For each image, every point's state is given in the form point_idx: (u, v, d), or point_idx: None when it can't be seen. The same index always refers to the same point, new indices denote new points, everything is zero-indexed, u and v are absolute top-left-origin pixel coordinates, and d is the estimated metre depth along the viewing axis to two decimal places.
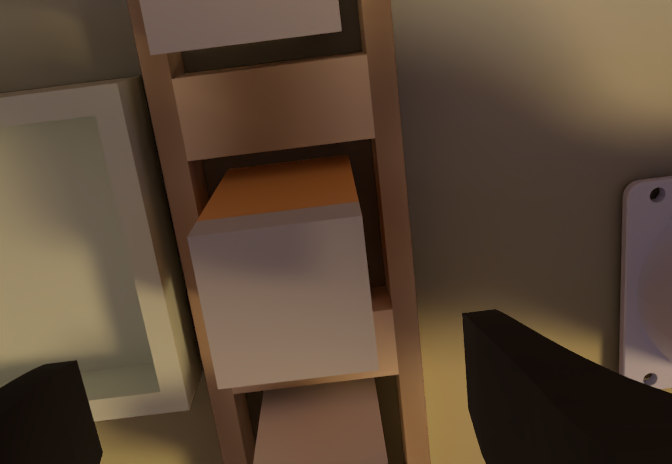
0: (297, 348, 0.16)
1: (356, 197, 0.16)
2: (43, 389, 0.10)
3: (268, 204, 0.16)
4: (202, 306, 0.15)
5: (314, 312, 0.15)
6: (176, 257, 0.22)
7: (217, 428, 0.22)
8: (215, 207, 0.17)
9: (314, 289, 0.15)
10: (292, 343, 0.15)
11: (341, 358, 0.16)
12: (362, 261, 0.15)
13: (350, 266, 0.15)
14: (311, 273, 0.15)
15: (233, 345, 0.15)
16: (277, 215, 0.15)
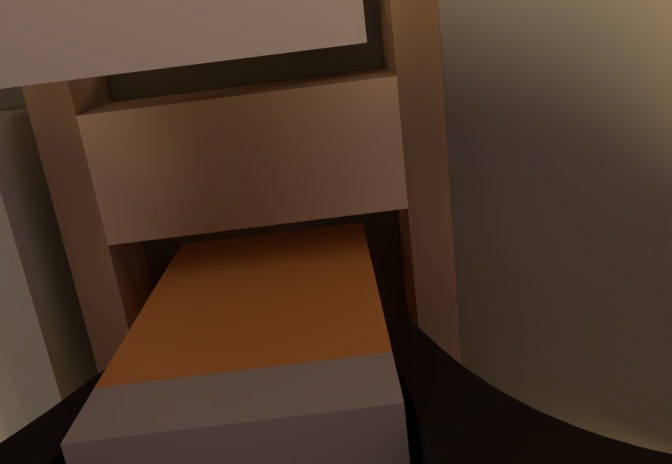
0: None
1: (386, 338, 0.09)
2: None
3: (230, 346, 0.09)
4: None
5: None
6: None
7: None
8: (138, 346, 0.10)
9: None
10: None
11: None
12: None
13: None
14: None
15: None
16: (243, 382, 0.08)
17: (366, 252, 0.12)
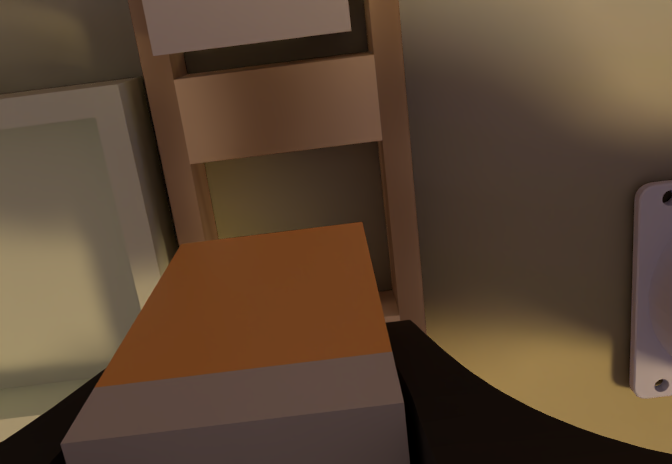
0: None
1: (386, 338, 0.09)
2: None
3: (230, 346, 0.09)
4: None
5: None
6: None
7: None
8: (138, 345, 0.10)
9: None
10: None
11: None
12: None
13: None
14: None
15: None
16: (243, 382, 0.08)
17: (366, 252, 0.12)
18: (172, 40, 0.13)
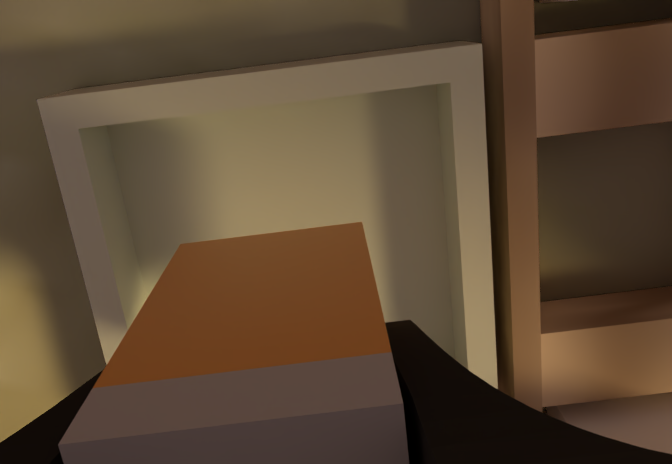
0: None
1: (386, 338, 0.09)
2: None
3: (229, 346, 0.09)
4: None
5: None
6: None
7: None
8: (136, 346, 0.10)
9: None
10: None
11: None
12: None
13: None
14: None
15: None
16: (241, 383, 0.08)
17: (365, 252, 0.12)
18: None
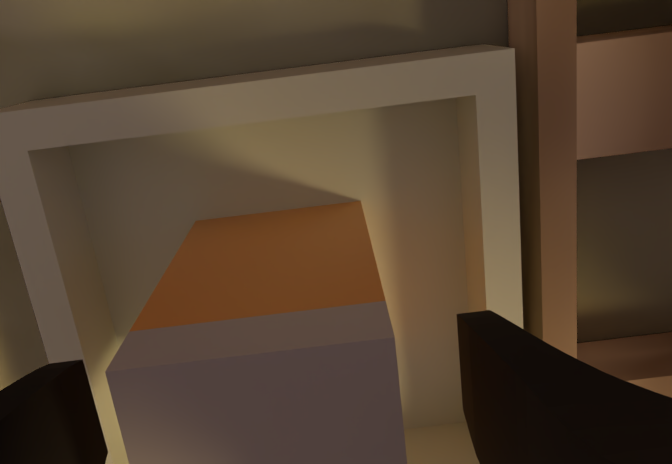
0: None
1: (381, 290, 0.10)
2: (49, 388, 0.10)
3: (244, 299, 0.11)
4: None
5: None
6: None
7: None
8: (164, 300, 0.11)
9: (315, 450, 0.09)
10: None
11: None
12: (394, 406, 0.09)
13: (374, 414, 0.09)
14: (310, 425, 0.09)
15: None
16: (257, 325, 0.10)
17: (364, 225, 0.14)
18: None
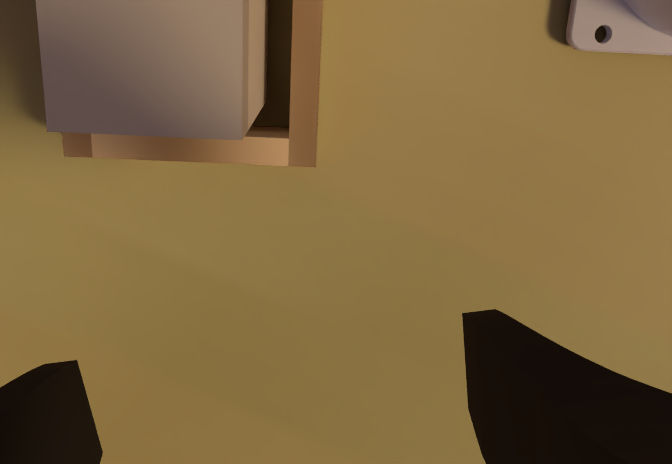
0: None
1: None
2: (43, 389, 0.10)
3: None
4: None
5: None
6: None
7: None
8: None
9: None
10: None
11: None
12: None
13: None
14: None
15: None
16: None
17: None
18: None
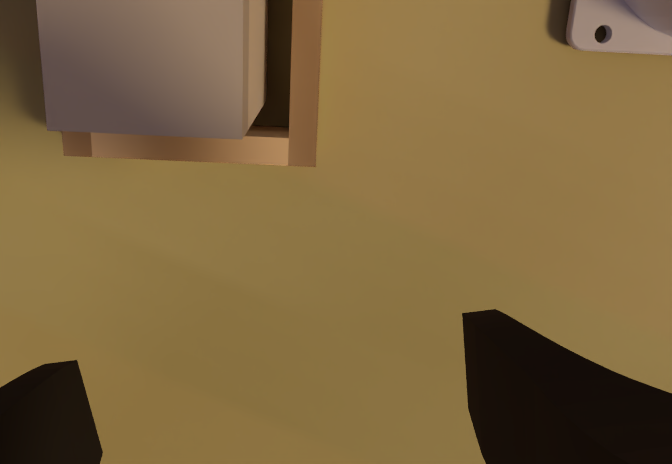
0: None
1: None
2: (43, 389, 0.10)
3: None
4: None
5: None
6: None
7: None
8: None
9: None
10: None
11: None
12: None
13: None
14: None
15: None
16: None
17: None
18: None
